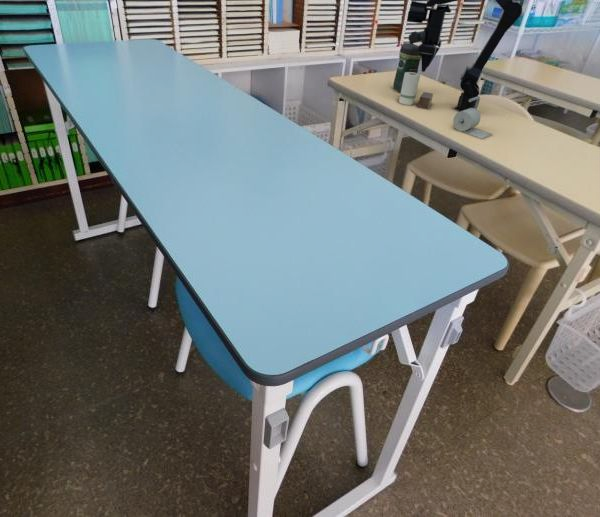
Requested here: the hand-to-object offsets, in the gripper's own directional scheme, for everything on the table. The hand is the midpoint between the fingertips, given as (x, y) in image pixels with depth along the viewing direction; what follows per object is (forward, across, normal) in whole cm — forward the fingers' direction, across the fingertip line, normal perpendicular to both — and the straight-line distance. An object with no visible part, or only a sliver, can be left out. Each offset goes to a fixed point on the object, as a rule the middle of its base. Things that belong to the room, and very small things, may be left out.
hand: (424, 69), depth 174 cm
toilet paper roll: (+13, +23, +23) cm, 35 cm away
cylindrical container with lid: (+11, +3, 0) cm, 12 cm away
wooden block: (+13, +3, +3) cm, 13 cm away
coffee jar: (+13, -14, -9) cm, 21 cm away
